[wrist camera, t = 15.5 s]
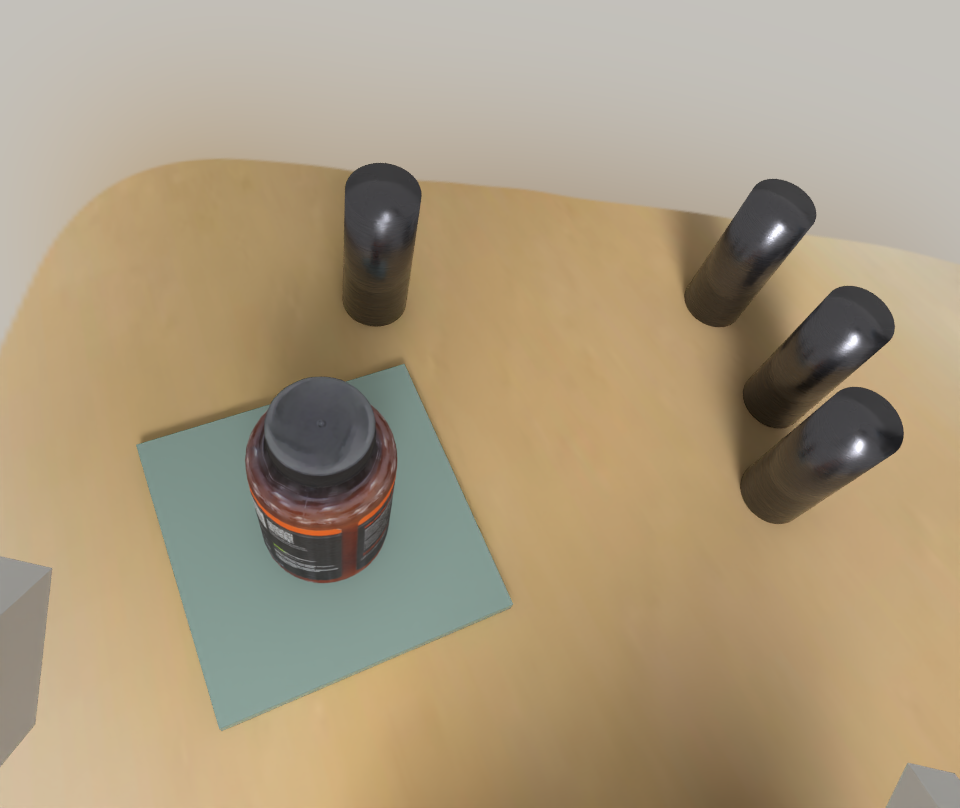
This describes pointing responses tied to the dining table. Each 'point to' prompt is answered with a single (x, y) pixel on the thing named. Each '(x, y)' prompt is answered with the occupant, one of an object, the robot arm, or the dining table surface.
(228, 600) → the board
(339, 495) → the supplement bottle
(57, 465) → the dining table surface
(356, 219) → the spacer posts
